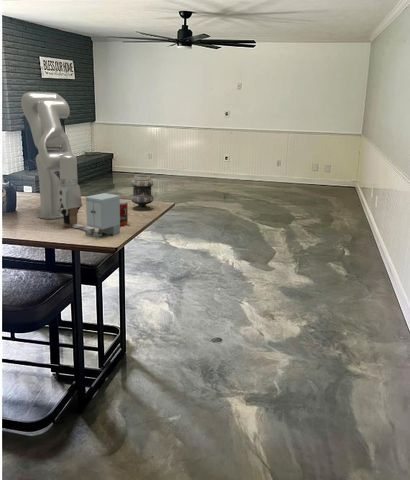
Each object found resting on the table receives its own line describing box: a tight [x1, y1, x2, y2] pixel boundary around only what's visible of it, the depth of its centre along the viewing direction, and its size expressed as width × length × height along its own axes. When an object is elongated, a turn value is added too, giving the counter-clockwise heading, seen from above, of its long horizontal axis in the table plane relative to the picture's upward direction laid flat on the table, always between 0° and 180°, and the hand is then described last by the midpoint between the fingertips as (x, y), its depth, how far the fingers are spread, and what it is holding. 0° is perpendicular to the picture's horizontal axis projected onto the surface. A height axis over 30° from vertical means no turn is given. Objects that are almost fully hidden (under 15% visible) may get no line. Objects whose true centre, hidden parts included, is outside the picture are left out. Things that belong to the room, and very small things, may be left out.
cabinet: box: [85, 192, 121, 236], centre depth 211 cm, size 9×12×17 cm
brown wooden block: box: [63, 207, 96, 232], centre depth 218 cm, size 16×4×10 cm, turn 58°
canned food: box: [120, 199, 129, 227], centre depth 229 cm, size 8×8×11 cm
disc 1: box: [84, 230, 96, 237], centre depth 212 cm, size 4×4×2 cm
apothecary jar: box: [130, 174, 154, 212], centre depth 260 cm, size 12×12×18 cm
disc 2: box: [92, 231, 103, 239], centre depth 209 cm, size 4×4×2 cm
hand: (70, 222), depth 222 cm, fingers closed on brown wooden block, 4 cm apart
